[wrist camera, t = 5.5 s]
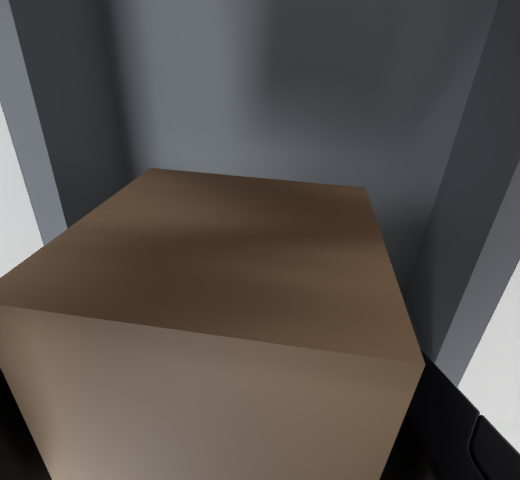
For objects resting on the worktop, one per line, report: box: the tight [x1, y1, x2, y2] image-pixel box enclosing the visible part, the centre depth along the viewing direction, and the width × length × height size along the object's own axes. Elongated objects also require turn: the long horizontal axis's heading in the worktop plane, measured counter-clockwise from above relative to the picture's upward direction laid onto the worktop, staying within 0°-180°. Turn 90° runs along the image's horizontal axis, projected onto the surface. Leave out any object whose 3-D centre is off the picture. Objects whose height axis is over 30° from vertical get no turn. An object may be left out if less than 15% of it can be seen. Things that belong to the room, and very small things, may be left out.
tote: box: [0, 0, 520, 387], centre depth 10 cm, size 18×14×5 cm
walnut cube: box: [0, 168, 425, 480], centre depth 7 cm, size 5×5×5 cm
